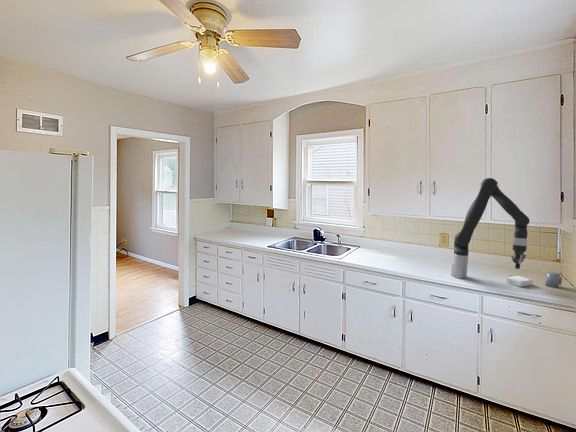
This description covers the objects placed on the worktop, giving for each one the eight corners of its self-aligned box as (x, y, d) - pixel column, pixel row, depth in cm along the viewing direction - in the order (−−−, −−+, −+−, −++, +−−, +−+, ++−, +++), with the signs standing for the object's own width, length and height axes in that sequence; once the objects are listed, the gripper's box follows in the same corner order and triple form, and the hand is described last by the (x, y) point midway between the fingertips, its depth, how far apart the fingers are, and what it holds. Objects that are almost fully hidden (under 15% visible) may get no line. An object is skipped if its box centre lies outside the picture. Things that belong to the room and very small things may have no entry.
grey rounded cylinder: (545, 286, 203) (547, 273, 202) (544, 283, 209) (545, 271, 208) (561, 289, 198) (563, 276, 197) (559, 285, 204) (561, 273, 203)
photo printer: (506, 276, 211) (519, 275, 214) (505, 282, 211) (519, 280, 214) (521, 281, 201) (534, 279, 204) (520, 287, 201) (534, 285, 205)
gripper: (519, 242, 211) (517, 265, 213) (508, 243, 205) (505, 268, 208) (531, 244, 204) (529, 268, 206) (520, 246, 199) (517, 271, 201)
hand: (517, 268), depth 207 cm, fingers closed
